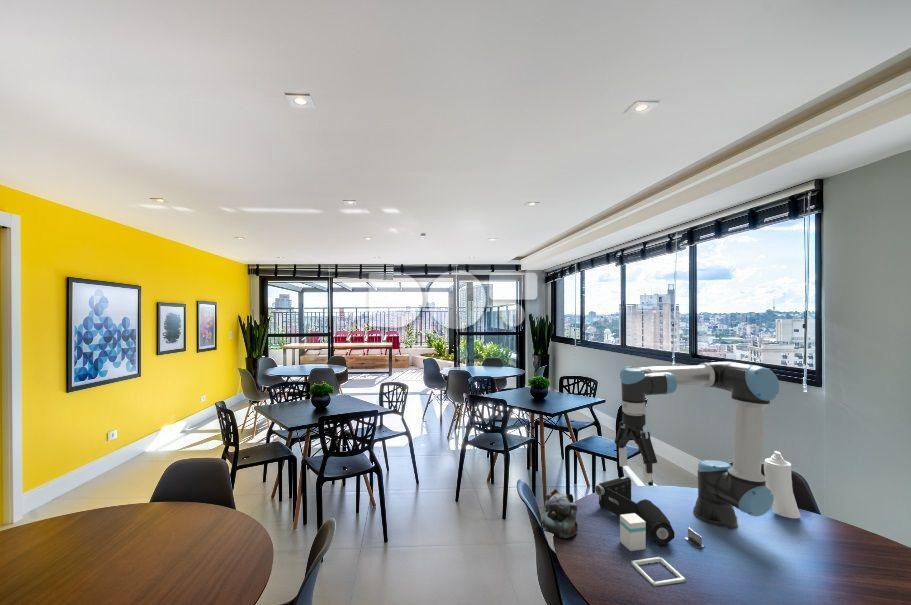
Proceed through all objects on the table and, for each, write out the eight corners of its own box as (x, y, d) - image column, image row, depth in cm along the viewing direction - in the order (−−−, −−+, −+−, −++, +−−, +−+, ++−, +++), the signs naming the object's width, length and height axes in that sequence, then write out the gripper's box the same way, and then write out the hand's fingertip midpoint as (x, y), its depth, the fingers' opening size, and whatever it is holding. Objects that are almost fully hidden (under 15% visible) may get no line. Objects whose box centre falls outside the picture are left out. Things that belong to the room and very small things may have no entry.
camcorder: (594, 505, 174) (594, 482, 174) (624, 496, 182) (624, 474, 182) (634, 529, 156) (634, 503, 156) (665, 517, 164) (665, 492, 164)
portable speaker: (676, 523, 143) (656, 498, 162) (648, 522, 144) (631, 497, 163) (677, 547, 142) (657, 519, 162) (650, 546, 144) (632, 519, 163)
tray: (660, 562, 135) (660, 556, 135) (685, 584, 125) (685, 578, 125) (631, 566, 133) (631, 560, 133) (653, 590, 122) (653, 583, 122)
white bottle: (791, 522, 159) (790, 459, 159) (760, 510, 169) (759, 450, 169) (804, 514, 165) (803, 453, 165) (773, 503, 174) (773, 445, 174)
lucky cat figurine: (533, 526, 157) (535, 489, 158) (553, 517, 165) (554, 483, 165) (565, 544, 145) (566, 505, 146) (585, 534, 153) (586, 497, 153)
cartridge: (634, 540, 148) (634, 512, 148) (645, 550, 142) (645, 521, 142) (619, 542, 147) (619, 514, 147) (630, 552, 141) (630, 523, 141)
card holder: (691, 537, 149) (691, 527, 149) (704, 547, 143) (704, 536, 143) (684, 538, 149) (684, 528, 149) (697, 548, 143) (697, 537, 143)
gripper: (604, 404, 153) (605, 460, 153) (647, 424, 129) (649, 490, 129) (621, 403, 155) (623, 458, 155) (668, 422, 130) (669, 488, 130)
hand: (634, 473), depth 142 cm, fingers open, 13 cm apart
